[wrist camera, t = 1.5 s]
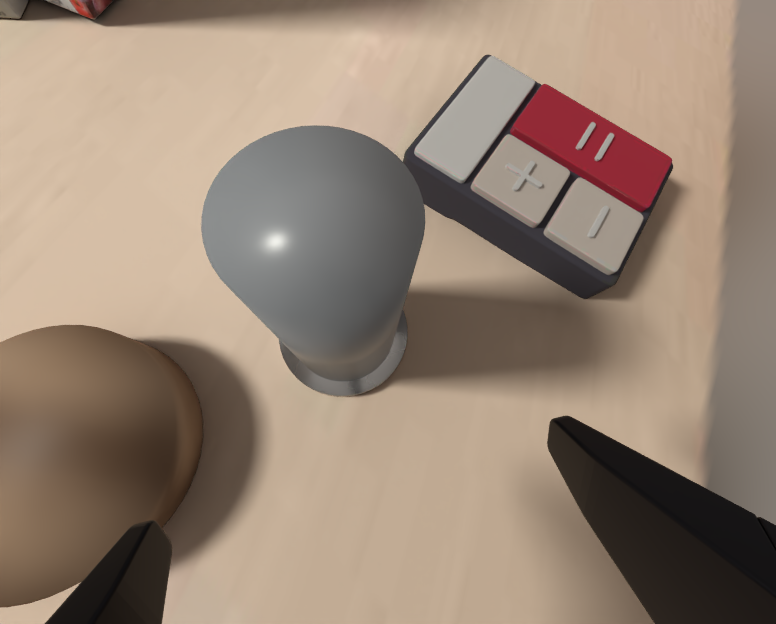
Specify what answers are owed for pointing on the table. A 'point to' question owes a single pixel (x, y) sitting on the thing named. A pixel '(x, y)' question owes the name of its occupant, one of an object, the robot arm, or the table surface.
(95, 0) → the snack box
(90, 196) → the table surface
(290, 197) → the grey cylinder
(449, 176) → the calculator
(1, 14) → the coffee box
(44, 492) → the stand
